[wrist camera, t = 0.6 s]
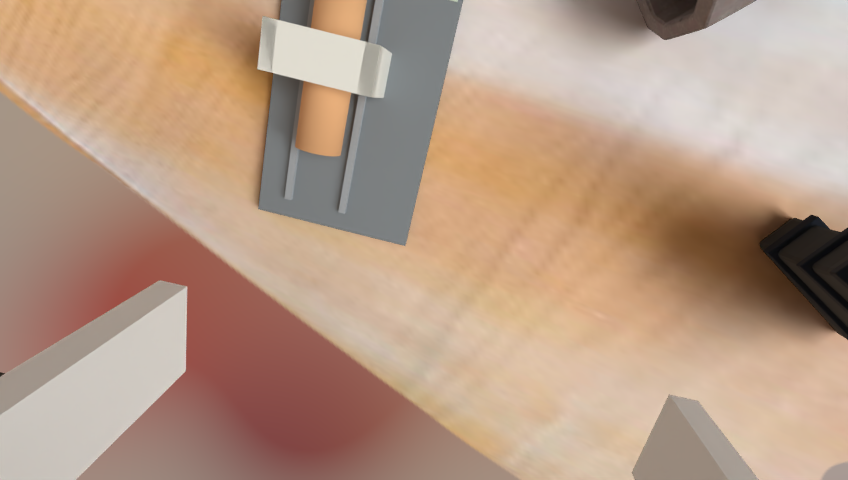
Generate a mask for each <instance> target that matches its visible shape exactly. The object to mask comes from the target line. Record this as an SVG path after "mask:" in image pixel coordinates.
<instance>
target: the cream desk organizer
mask: <svg viewBox="0 0 848 480" xmlns="http://www.w3.org/2000/svg"><path fill="white" fill-rule="evenodd" d="M391 57H392V53H391V52H389V51H388V50H387V49H385V48H384V47H382V46H381V45H377V44H373V43H369V42H365V41H361V40H357V39H353V38H349V37H345V36H341V35H337V34H333V33H329V32H325V31H321V30H317V29H313V28H309V27H305V26H301V25H297V24H293V23H289V22H285V21H281V20H277V19H273V18H269V17H265V16H263V17H262V27H261V38H260V48H259V58H258V68H257V69H259V70H263V71H267V72H271V73H275V74H279V75H283V76H287V77H291V78H295V79H299V80H303V81H307V82H311V83H315V84H319V85H323V86H327V87H331V88H335V89H339V90H343V91H347V92H351V93H355V94H359V95H363V96H367V97H372V98H384V93H385V88H386V83H387V78H388V73H389V67H390V62H391Z"/></svg>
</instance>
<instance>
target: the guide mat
mask: <svg viewBox="0 0 848 480" xmlns="http://www.w3.org/2000/svg"><path fill="white" fill-rule="evenodd" d="M462 3H463V0H367V3H366V9H365V15H364V21H363V27H362V33H361V38H360V40H361V41H365V42H369V43H373V44H377V45H381V46H382V47H384V48H385V49H387V50H388V51H389V52H391V53H392V57H391V62H390V67H389V73H388V78H387V83H386V88H385V93H384V98H372V97H367V96H363V95H359V94H355V93H351V97H350V103H349V109H348V115H347V121H346V127H345V133H344V139H343V145H342V151H341V155H340V156H324V155H318V154H313V153H309V152H306V151H302V150H300V149H298V148H296V147H295V142H296V134H297V127H298V120H299V112H300V105H301V97H302V90H303V82H304V81H303V80H299V79H295V78H291V77H287V76H283V75H279V74H275V73H273V82H272V91H271V100H270V109H269V118H268V127H267V136H266V145H265V154H264V163H263V172H262V181H261V190H260V199H259V208H258V209H260V210H264V211H268V212H272V213H276V214H280V215H284V216H288V217H292V218H296V219H300V220H304V221H308V222H312V223H316V224H320V225H324V226H328V227H332V228H336V229H340V230H344V231H348V232H352V233H356V234H360V235H364V236H368V237H372V238H376V239H380V240H384V241H388V242H392V243H396V244H400V245H404V246H405V244H406V241H407V237H408V232H409V228H410V224H411V220H412V215H413V211H414V207H415V203H416V198H417V194H418V190H419V186H420V181H421V177H422V173H423V169H424V164H425V160H426V156H427V152H428V147H429V143H430V139H431V135H432V130H433V126H434V122H435V118H436V113H437V109H438V105H439V101H440V96H441V92H442V88H443V84H444V79H445V75H446V71H447V67H448V62H449V58H450V54H451V50H452V45H453V41H454V37H455V32H456V28H457V24H458V20H459V15H460V11H461V7H462ZM313 7H314V0H282V1H281V10H280V19H279V20H281V21H285V22H289V23H293V24H297V25H301V26H305V27H309V28H311V22H312V15H313Z"/></svg>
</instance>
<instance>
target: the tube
mask: <svg viewBox="0 0 848 480" xmlns="http://www.w3.org/2000/svg"><path fill="white" fill-rule="evenodd" d="M754 1H756V0H637V2H638V5H639V7H640V10H641V12H642V15H643V17H644V20H645V22H646V25H647V27H648V28H649V29H650V30H652V31H653V32H654V33H656V34H657V35H658V36H660V37H661V38H662V39H664V40H668V39H672V38H675V37H679V36H682V35H685V34H689V33H692V32H695V31H699V30H702V29H705V28H707V27H709V26H711V25H713V24H715V23H716V22H718V21H720V20H722V19H724V18H726V17H728V16H729V15H731V14H733V13H735V12H737V11H738V10H740V9H742V8H744V7H746V6H747V5H749V4H751V3H753V2H754Z"/></svg>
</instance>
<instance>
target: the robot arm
mask: <svg viewBox="0 0 848 480" xmlns="http://www.w3.org/2000/svg"><path fill="white" fill-rule="evenodd" d="M186 320H187V287H186V286H182V285H178V284H174V283H169V282H165V281H158V282H156V283H155V284H153V285H151V286H150V287H148V288H146V289H144V290H143V291H141V292H140V293H138V294H136V295H135V296H133V297H131V298H130V299H128V300H127V301H125V302H123V303H121V304H120V305H118V306H116V307H115V308H113V309H111V310H110V311H109V312H106V313H105V314H103V315H102V316H100V317H98V318H97V319H95V320H93V321H92V322H90V323H88V324H87V325H85V326H83V327H82V328H80V329H78V330H77V331H75V332H74V333H72V334H70V335H68V336H67V337H65V338H63V339H62V340H60V341H58V342H57V343H55V344H54V345H52V346H50V347H49V348H47V349H45V350H44V351H42V352H40V353H39V354H37V355H35V356H34V357H32V358H30V359H29V360H27V361H25V362H24V363H22V364H21V365H19V366H17V367H16V368H14V369H12V370H11V371H9V372H7V373H6V374H5V373H0V480H76V479H77V478H78V477H79V476H80V475H81V474H82V473H83V472H84V471H85V470H86V469H87V468H88V467H89V466H90V465H91V464H92V463H93V462H94V461H95V460H96V459H97V458H98V457H99V456H100V455H101V454H102V453H103V452H104V451H105V450H106V449H107V448H108V447H109V446H110V445H111V444H112V443H113V442H114V441H115V440H116V439H117V438H118V437H119V436H120V435H121V434H122V433H123V432H124V431H126V430H127V429H128V428H129V427H130V425H132V424H133V423H134V421H136V419H137V418H139V417H140V416H141V415H142V414H143V413H144V412H145V411H146V410H147V409H148V408H149V407H150V406H151V405H152V404H153V403H154V402H155V401H156V400H157V399H158V398H159V397H160V396H161V395H162V394H163V393H164V392H165V391H166V390H167V389H168V388H169V387H170V386H171V385H172V384H173V383H174V382H175V381H176V380H177V379H178V378H179V377H180V376H181V375H182V374H183V373H184V372H185V371H186V322H187V321H186ZM632 474H633V476H634V479H635V480H759V479H758V478H757V477H756V475H755V474H754V473H753V472H752V470H751V469H750V468H749V466H748V465H747V464H746V463H745V461H744V460H743V459H742V457H741V456H740V455H739V453H738V452H737V451H736V450H735V448H734V447H733V446H732V444H731V443H730V442H729V441H728V439H727V438H726V437H725V435H724V434H723V433H722V431H721V430H720V429H719V428H718V426H717V425H716V424H715V422H714V421H713V420H712V419H711V417H710V416H709V415H708V413H707V412H706V411H705V409H704V408H703V407H702V406H701V404H700V403H699V402H698V401H696V400H691V399H687V398H683V397H678V396H674V395H669V396H668V398H667V400H666V402H665V404H664V406H663V408H662V411H661V413H660V415H659V417H658V419H657V421H656V423H655V425H654V427H653V429H652V431H651V433H650V435H649V438H648V440H647V442H646V444H645V446H644V448H643V450H642V452H641V454H640V456H639V458H638V460H637V463H636V465H635V467H634V469H633V471H632Z"/></svg>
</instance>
